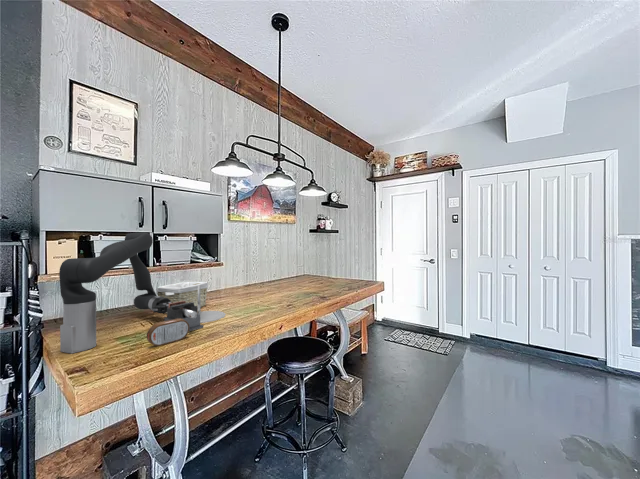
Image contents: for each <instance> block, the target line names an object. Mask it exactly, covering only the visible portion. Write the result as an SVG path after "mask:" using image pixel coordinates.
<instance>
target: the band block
mask: <svg viewBox="0 0 640 479" xmlns="http://www.w3.org/2000/svg"><path fill="white" fill-rule="evenodd" d="M181 308H185V309H188V310H192V311H195V312H197V316H196V318H194V319H192V318H189V317H186V316H183V309H181ZM179 318H181V319H184V320H185V321H187V322H188V324H189V332H192V331H196V330H199V329H203V328H204V325H203V324H202V323H200V314H198V308H197V306H195V305H194V302H189V303H184V304H179V305H173V306H170V307H169V308H167V313H166V316H165V317H164V318H163V320H164V321H169V320H174V319H179ZM164 321H163V322H164Z"/></svg>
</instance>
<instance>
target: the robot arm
mask: <svg viewBox="0 0 640 479" xmlns="http://www.w3.org/2000/svg"><path fill="white" fill-rule="evenodd" d="M153 240H154V239H153V237H152V235H151V234H150V233H149V232H144V231H143V232H129V233H127V234H126V235H125V237H124V240H121V241H116V242H113V243H111V244H109V245H107V246H105V247H103V248H102V249H101V251H100V253H99V256H96V257H86V258H85V257H81V258H80V257H79V258H77V257H76V258H73V257H72V258H67V259H65V260H63V261H62V263H61V264H60V266H59V273H58V274H59V276H58V277H59V286H60V288H59V289H60V290H59V291H60V297H61V299H62V303H63V305H62V307H63V308H62V309H63V310H62V312H63V313H62V316H63V317H62V319H63V321H62V322H63V323H62V324H60V326H59V327H60V328H59V336H60V339H59V340H60V341H59V342H60V345H59V347H60V349H59V350H60V353H67V354H75V353H79V352H80V353H81V352H83V351H89V350H90V349H92V348H95V347H96V346H97V294H96V292H94V291H92V290H89V289H87V288H85V287H84V286H83V284H89V283H94V282H97V280H99V279H100V278H102V277H103V276H105V275H106V274H107V273H108V272H109V271H111V270H112V269H114V268H116V267H117V266H119V265H121V264H122V263H125V262H126V261H128V260H129V262H130V265H131V268H132V271H133V276H134V283H135V284H134V285H135V288H136V290H138V291H146V293H142V294H139V295H137V296H135V297H134V299H133V305H134V306H135V308H136V309H139V310H151V312H153V313H158V314H161V315H162V314H167V313H166V312H167V308H169V303H172V302H171V301H170V300H169V299H168V298H164V297H160V296H158V295H157V292H155V290H154V287H153V285H152V284H153V283H152V278H151V277H152V276H151V272H150V271H149V268H148V267H147V266H146V265H145V264H144V263H143V262H142V260H141V258H140V257H139V253H141V252H144V251H147V250H149V249H150V248H151V247H152V245H153V242H154V241H153Z"/></svg>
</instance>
